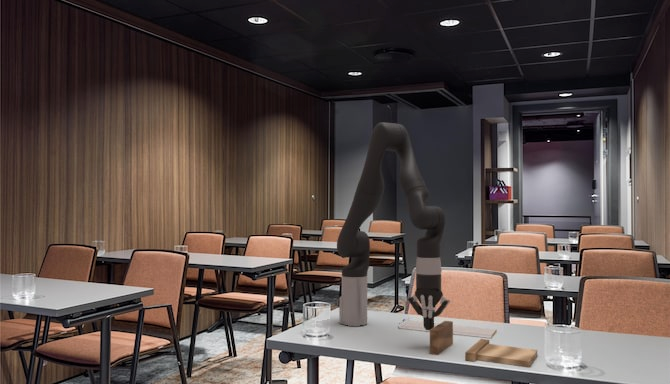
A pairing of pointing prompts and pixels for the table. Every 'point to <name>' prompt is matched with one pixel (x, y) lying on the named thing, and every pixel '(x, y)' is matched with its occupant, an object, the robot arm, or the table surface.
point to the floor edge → (500, 354)
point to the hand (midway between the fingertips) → (428, 329)
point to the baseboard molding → (456, 329)
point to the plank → (441, 337)
